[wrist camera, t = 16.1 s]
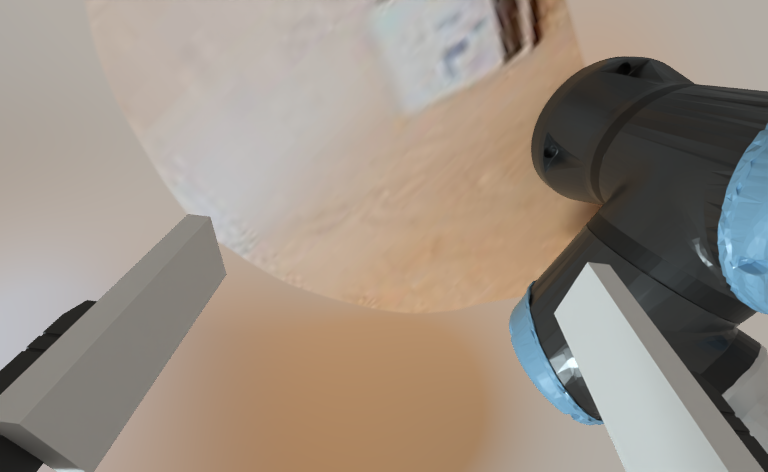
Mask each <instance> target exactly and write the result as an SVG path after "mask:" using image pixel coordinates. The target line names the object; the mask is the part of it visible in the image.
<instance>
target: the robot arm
mask: <svg viewBox="0 0 768 472" xmlns="http://www.w3.org/2000/svg"><path fill="white" fill-rule="evenodd" d="M531 152H532V160H533V164H534V167H535V170H536V172H537V173H538V175H539V177H540V178H541V179H542V180H543V181H544V182H545V183H546V184H547V185H548V186H549V187H551V188H552V189H553V190H554V191H556V192H557V193H559V194H561V195H563V196H565V197H567V198H570V199H573V200H578V201H583V202H589V203H594V204H600V205H603V206H602V207H601V208H600V209H599V211H598V212H597V213H596V214H595V215H594V217H593V218H592V219H591V220H590V221H589V222H588V223H587V224H586V225H585V226H584V227H583V229H582V230H581V231H580V232H579V233H578V234H577V236H576V237H575V238H574V239H573V240H572V241H571V243H570V244H569V245H568V246H567V247H566V248H565V249H564V251H563V252H562V253H561V254H560V255H559V256H558V257H557V258H556V260H555V261H554V262H553V263H552V264H551V265H550V266H549V267H548V268H547V270H546V271H545V272H544V273H543V274H542V275H541V276H540V277H539V279H538V280H536V281H533V282H532V283H531V284H530V285H529V287H528V289H527V292H526V294H525V295H524V296H523V298H522V299H521V300H520V302H519V303H518V304H517V305H516V307H515V308H514V309H513V311H512V314H511V316H510V321H509V329H510V334H511V342H512V345H513V348H514V350H515V353H516V355H517V357H518V359H519V361H520V363H521V365H522V367H523V369H524V370H525V372H526V373H527V375H528V376H529V378H530V379H531V380H532V382H533V383H534V384H535V386H536V387H537V388H538V389H539V391H540V392H541V393H542V394H543V395H544V396H545V397H546V398H547V399H548V400H549V401H550V402H551V403H552V404H553V405H554V406H555V407H556V408H557V409H559V410H560V411H561V412H563V413H564V414H570V415H571V416H572V418H573V419H574V420H576V421H578V422H580V423H583V424H586V425H594V424H598V425H601V424H605V426H606V429H607V431H608V433H609V435H610V438H611V440H612V442H613V444H614V446H615V448H616V451H617V453H618V455H619V457H620V459H621V462H622V464H623V466H624V468H625V470H626V472H768V355H767V350H766V348H765V347H764V346H762V345H761V344H760V343H759V342H757V341H755V340H754V339H752V338H751V337H750V336H748V335H747V334H745V333H744V332H742V331H741V330H739V329H738V328H736V327H737V326H738V325H739V324H740V323H742V322H744V321H745V320H746V319H748V318H749V317H751V316H752V315H754V314H755V313H756V312H760V313H764V314H768V92H767V91H757V90H748V89H738V88H727V87H718V86H708V85H707V86H706V85H697V84H694V83H693V82H691V81H690V80H688V79H687V78H686V77H684V76H683V75H681V74H680V73H678V72H677V71H675V70H674V69H673V68H671V67H670V66H668V65H666V64H665V63H663V62H660V61H657V60H654V59H650V58H644V57H615V58H609V59H605V60H602V61H599V62H596V63H594V64H592V65H590V66H588V67H586V68H584V69H582V70H581V71H579V72H578V73H576V74H575V75H573V76H572V77H571V78H569V79H568V80H567V81H566V82H565V83H564V84H563V85H562V86H561V87H560V88H559V89H558V90H557V91H556V92H555V93H554V94H553V95H552V97H551V98H550V99H549V101H548V102H547V104H546V105H545V107H544V108H543V110H542V112H541V114H540V116H539V118H538V120H537V123H536V126H535V129H534V133H533V137H532V145H531ZM225 276H226V271H225V268H224V264H223V260H222V257H221V253H220V250H219V246H218V243H217V239H216V236H215V232H214V228H213V225H212V221H211V218H210V217H208V216H199V215H191V214H188V215H187V216H186V217H185V218H184V219H183V220H182V221H180V222H179V224H177V225H176V226H175V227H174V228H173V229H172V230H171V231H170V232H169V233H168V234H167V235H166V236H165V237H164V238H163V239H162V240H161V241H160V242H159V243H158V244H157V245H156V246H154V247H153V248H152V249H151V251H150V252H148V253H147V254H146V255H145V256H144V257H143V258H142V259H141V260H140V261H139V262H138V263H137V264H136V265H135V266H134V267H133V268H132V269H131V270H130V271H129V272H128V273H126V274H125V275H124V276H123V277H122V278H121V279H120V280H119V281H118V282H117V283H116V284H115V285H114V286H113V287H112V288H111V289H110V290H109V291H108V292H107V293H106V294H105V295H104V296H102V298H100V299H99V300H98V301H88V300H87V301H85V302H83V303H82V304H80V305H78V306H76V307H75V308H73V309H71V310H70V311H68V312H66V313H64V314H63V315H62V316H61V317H59V319H57V320H56V321H55V322H54V323H53V324H52V325H51V326H49V328H47V329H46V330H45V331H44V332H43V335H42V336H38V337H37V338H36V339H35V340H34V341H33V342H32V343H31V344H30V345H29V346H27V349H26V351H22V352H21V353H20V354H18V355H17V356H16V357H15V358H14V359H13V360H12V361H11V362H10V363H9V364H7V365H6V366H5V367H4V368H3V369H2V370H1V371H0V472H37V471H38V469H39V468H40V467H41V465H42V464H43V463H44V464H46V465H47V466H49V467H50V468H52V469H54V470H55V471H57V472H94V471H95V469H96V468H97V466H98V465H99V463H100V462H101V460H102V459H103V457H104V456H105V454H106V453H107V452H108V450H109V449H110V447H111V446H112V444H113V442H114V441H115V440H116V438H117V436H118V435H119V434H120V432H121V431H122V429H123V428H124V426H125V425H126V423H127V422H128V420H129V419H130V417H131V416H132V414H133V413H134V411H135V410H136V408H137V407H138V405H139V404H140V402H141V401H142V399H143V398H144V396H145V395H146V393H147V392H148V390H149V389H150V387H151V386H152V384H153V383H154V382H155V380H156V379H157V377H158V376H159V374H160V373H161V371H162V369H163V368H164V367H165V365H166V364H167V362H168V361H169V359H170V358H171V356H172V355H173V353H174V352H175V350H176V349H177V347H178V346H179V344H180V343H181V341H182V340H183V338H184V337H185V335H186V334H187V332H188V331H189V329H190V328H191V326H192V325H193V323H194V322H195V320H196V319H197V317H198V316H199V314H200V313H201V312H202V310H203V309H204V307H205V305H206V304H207V303H208V301H209V300H210V298H211V297H212V295H213V294H214V292H215V291H216V289H217V288H218V286H219V285H220V283H221V282H222V280H223V279H224V277H225Z"/></svg>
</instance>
